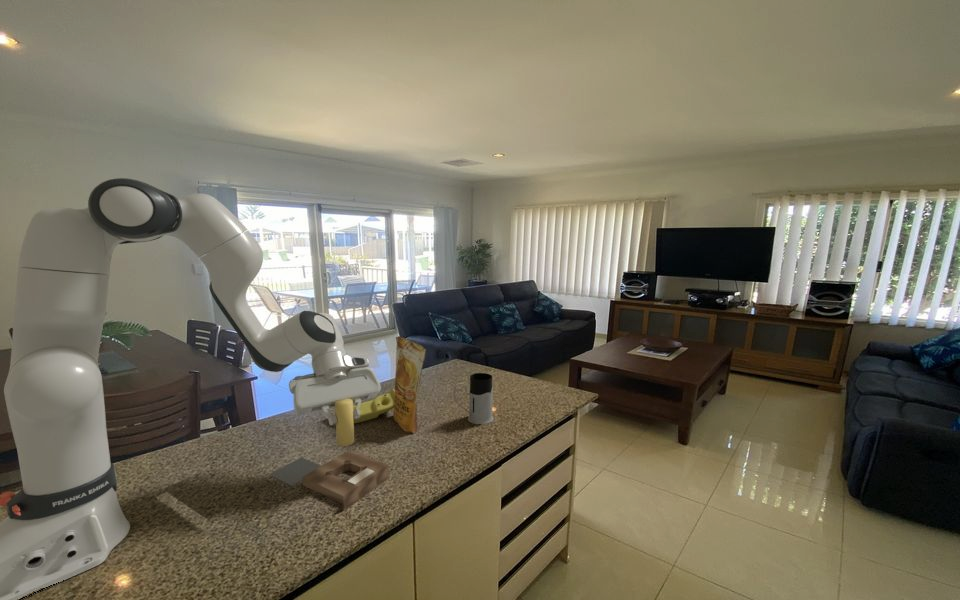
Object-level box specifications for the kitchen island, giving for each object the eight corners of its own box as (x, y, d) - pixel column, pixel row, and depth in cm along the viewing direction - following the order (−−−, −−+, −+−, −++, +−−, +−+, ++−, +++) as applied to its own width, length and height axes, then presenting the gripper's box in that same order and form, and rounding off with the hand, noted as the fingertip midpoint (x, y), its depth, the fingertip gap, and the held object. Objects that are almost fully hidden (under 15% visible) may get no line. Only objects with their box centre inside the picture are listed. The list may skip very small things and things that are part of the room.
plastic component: (341, 421, 120) (336, 399, 128) (342, 436, 124) (337, 413, 132) (401, 405, 130) (393, 385, 137) (400, 419, 133) (392, 399, 141)
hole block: (344, 510, 82) (343, 495, 82) (302, 490, 89) (302, 476, 89) (388, 477, 94) (388, 464, 94) (349, 462, 101) (349, 449, 101)
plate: (291, 491, 89) (291, 485, 88) (268, 480, 93) (268, 474, 93) (324, 472, 96) (323, 466, 96) (301, 462, 101) (301, 457, 101)
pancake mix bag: (406, 410, 134) (405, 334, 131) (428, 432, 118) (427, 345, 115) (388, 414, 131) (386, 336, 127) (408, 437, 115) (406, 348, 111)
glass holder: (498, 421, 126) (498, 378, 124) (458, 429, 120) (459, 384, 118) (486, 411, 134) (486, 371, 132) (449, 418, 128) (449, 376, 126)
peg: (344, 447, 88) (343, 406, 86) (333, 443, 90) (331, 403, 88) (357, 440, 91) (356, 400, 90) (346, 436, 93) (344, 397, 92)
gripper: (288, 371, 88) (299, 427, 81) (373, 357, 100) (389, 405, 93) (286, 384, 92) (296, 438, 85) (368, 369, 104) (383, 415, 97)
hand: (345, 420), depth 89 cm, fingers closed on peg, 4 cm apart
